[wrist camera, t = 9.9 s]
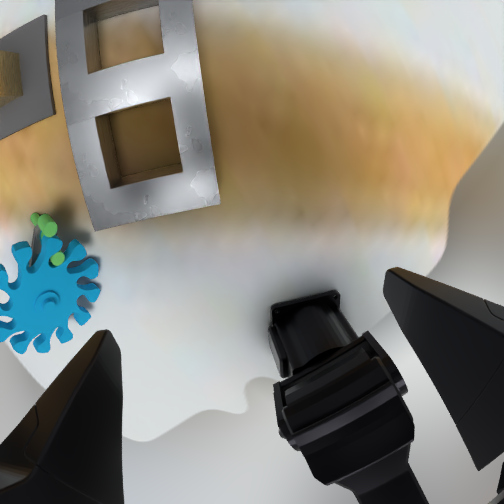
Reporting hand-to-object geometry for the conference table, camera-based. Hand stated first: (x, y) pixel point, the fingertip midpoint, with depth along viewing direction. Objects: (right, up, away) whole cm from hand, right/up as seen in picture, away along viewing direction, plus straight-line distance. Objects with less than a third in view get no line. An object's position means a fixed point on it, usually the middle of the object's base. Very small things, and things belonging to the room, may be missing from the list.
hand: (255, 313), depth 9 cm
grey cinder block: (-7, +12, +7) cm, 16 cm away
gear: (-15, +1, +11) cm, 19 cm away
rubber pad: (-18, +14, +4) cm, 23 cm away
